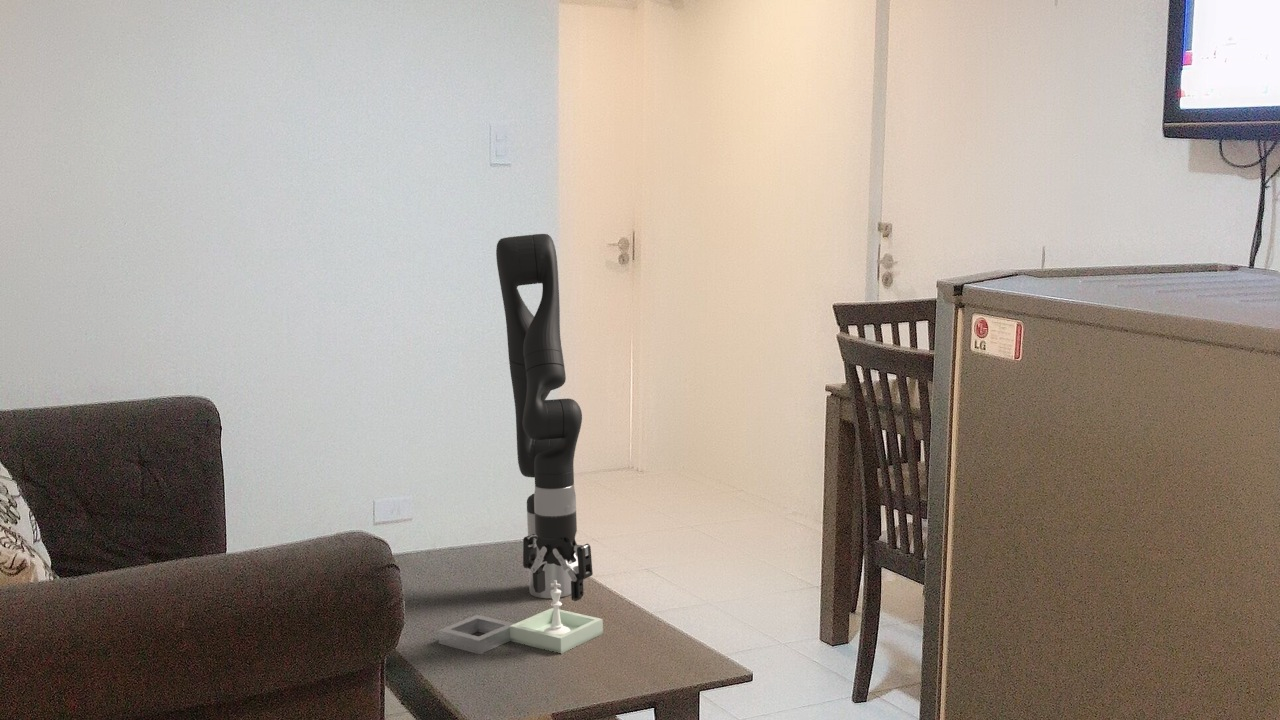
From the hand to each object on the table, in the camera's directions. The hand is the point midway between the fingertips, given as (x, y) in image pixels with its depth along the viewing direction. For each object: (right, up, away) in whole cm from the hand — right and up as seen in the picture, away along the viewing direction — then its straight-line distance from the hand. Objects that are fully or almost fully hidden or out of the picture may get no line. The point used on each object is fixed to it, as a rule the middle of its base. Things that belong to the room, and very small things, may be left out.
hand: (558, 595), depth 210 cm
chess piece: (0, -7, +1) cm, 7 cm away
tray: (0, -8, 0) cm, 8 cm away
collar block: (-14, -8, 0) cm, 17 cm away
